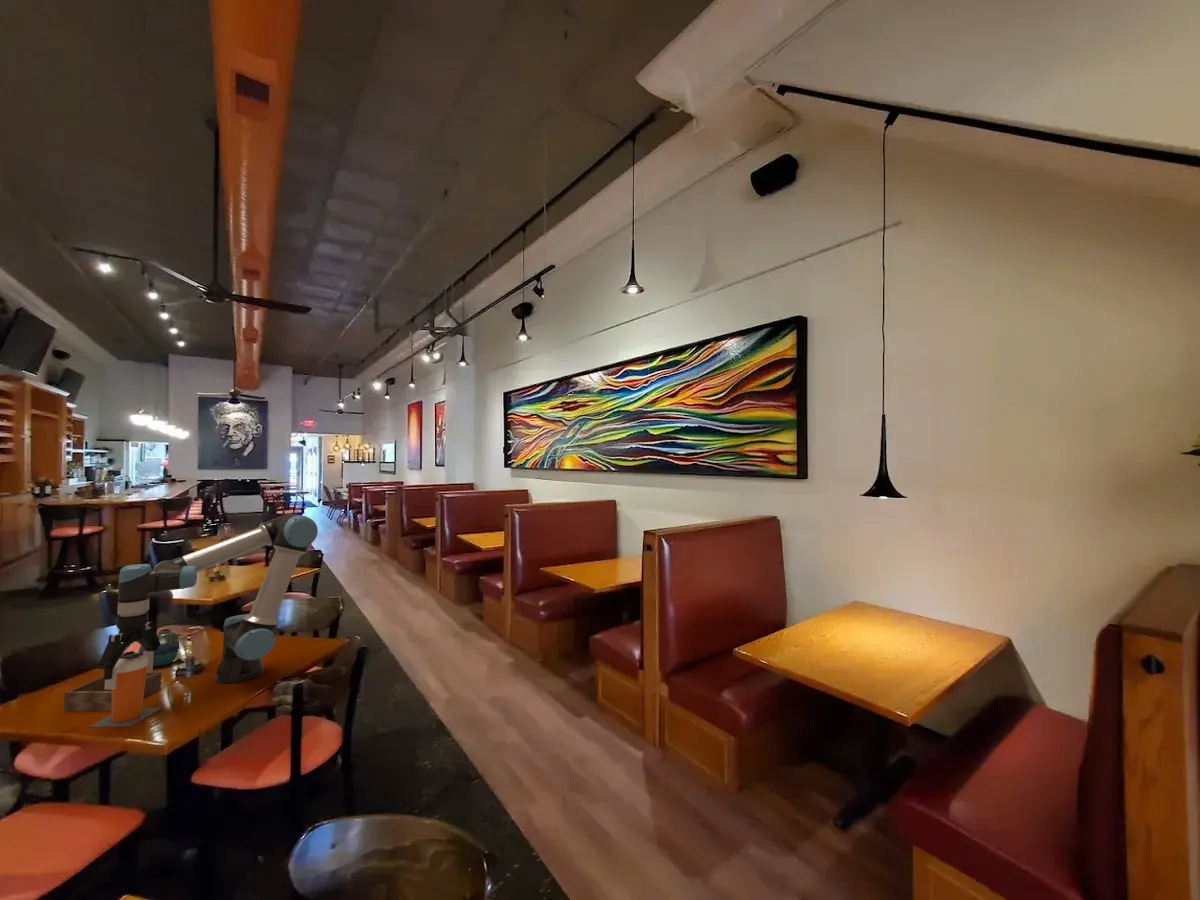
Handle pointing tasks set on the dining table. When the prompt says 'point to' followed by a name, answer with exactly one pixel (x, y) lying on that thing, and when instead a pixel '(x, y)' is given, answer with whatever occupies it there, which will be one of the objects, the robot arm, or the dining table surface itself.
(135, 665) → the shaker bottle
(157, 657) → the vase
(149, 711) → the slate board
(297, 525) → the robot arm
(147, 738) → the dining table surface
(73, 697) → the square wooden frame
